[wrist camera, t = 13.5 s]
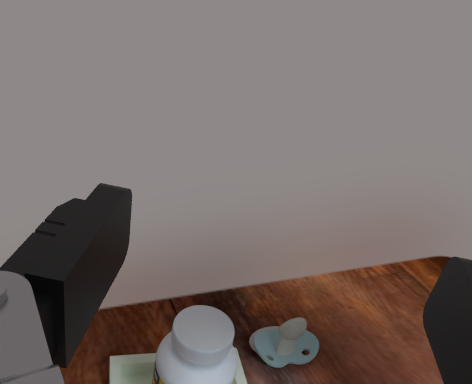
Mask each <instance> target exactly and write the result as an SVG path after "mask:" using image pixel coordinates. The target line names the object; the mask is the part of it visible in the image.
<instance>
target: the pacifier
mask: <svg viewBox="0 0 472 384" xmlns="http://www.w3.org/2000/svg"><path fill="white" fill-rule="evenodd" d="M306 328H307V322H306V320H305V319H304V318H301V317H298V318H293V319H290V320H288V321H286V322H285V323H283V324H282V325H281V326H280V327H279V326H271V327H265V328H262V329H259V330H257V331H256V332H254V333H253V334H252V335H251V337H250V339H249V344H250V347H251V348H252V349H253V350H254V351H255V352H256V353H258V355H259V356H260V357H261V358H262V359H263V361H265V362H266V363H267V364H268V365H270V366H272V367H275V368H281V367H284V366H285V365H286V364H289V363H291V364H297V365H300V364H306V363H308V362H310V361H311V360H313V359H314V358H315V356H316V355H317V353H318V350H319V341H318V339H317V338H316V336H315V335H314V334H312V333H311V332H309V331H307V330H306ZM305 350H306V351H309V353H310V354H308V355H303V354H302V351H305Z"/></svg>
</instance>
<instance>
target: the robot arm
mask: <svg viewBox="0 0 472 384" xmlns="http://www.w3.org/2000/svg"><path fill="white" fill-rule="evenodd" d="M131 202H132V192H131V190H130V189H127V188H122V187H117V186H113V185H108V184H103V183H100V184H99V185H98V186H97V187H96V188H95V189H94V190H93V192H92V193H91V194H90V195H89V196H88V198H87V199H86V200H82V199H76V198H74V199H72V200H70V201H68V202H66V203H64V204H62V205H60V206H58V207H56V208H55V209H54V211H52V213H51V214H50V215H49V216H48V217H47V218H46V219H45V222H42V223H41V224H40V225H39V227H38V228H37V229H36V230H35V233H32V234H31V235H30V236H29V237H28V238H27V240H26V241H25V242H24V243H23V244H22V245H21V246H20V247H19V248H18V249H17V250H16V251H15V252H14V254H13V255H12V256H11V257H10V258H9V259H8V260H7V261H6V262H5V263H4V264H3V265H2V266H1V268H0V384H64V380H63V377H62V374H61V371H60V368H59V367H63V368H67V366H68V364H69V362H70V360H71V358H72V357H73V355H74V353H75V351H76V349H77V347H78V345H79V344H80V342H81V340H82V338H83V336H84V334H85V333H86V331H87V329H88V327H89V325H90V323H91V322H92V320H93V318H94V316H95V314H96V312H97V311H98V309H99V307H100V305H101V303H102V301H103V299H104V298H105V296H106V294H107V292H108V290H109V288H110V286H111V285H112V283H113V281H114V279H115V277H116V276H117V274H118V272H119V270H120V268H121V266H122V264H123V262H124V260H125V257H126V254H127V250H128V245H129V236H130V220H131V205H132V203H131ZM423 324H424V328H425V331H426V334H427V337H428V340H429V343H430V345H431V348H432V351H433V354H434V357H435V359H436V362H437V365H438V368H439V371H440V374H441V376H442V379H443V382H444V384H472V260H469V259H464V258H459V257H452V258H450V259H449V260H448V262H447V263H446V265H445V267H444V269H443V271H442V273H441V274H440V276H439V278H438V280H437V282H436V284H435V286H434V288H433V290H432V292H431V294H430V296H429V298H428V300H427V302H426V304H425V307H424V313H423Z"/></svg>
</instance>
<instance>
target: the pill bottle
mask: <svg viewBox="0 0 472 384" xmlns="http://www.w3.org/2000/svg"><path fill="white" fill-rule="evenodd" d="M233 339H234V326H233V323H232V321H231V320H230V318H229V317H228V316H227V315H226V314H225V313H223V312H222V311H220V310H219V309H216V308H214V307H210V306H205V305H195V306H191V307H188V308H185V309H183V310H182V311H181V312H180V313H178V315H177V316H176V318H175V320H174V322H173V327H172V331H171V332H170V333H168V334H167V335H166V336H165V337H164V339H163V340H162V341H161V343H160V345H159V347H158V350H157V353H156V359H155V366H154V373H153V380H152V384H233V383H234V379H235V376H236V372H237V355H236V352H235V349H234V347H233V345H232V344H233Z"/></svg>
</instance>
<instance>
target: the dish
mask: <svg viewBox="0 0 472 384" xmlns="http://www.w3.org/2000/svg"><path fill="white" fill-rule="evenodd" d="M234 349H235V352H236V355H237V372H236V376H235V379H234V383H233V384H247V381H246V378H245V374H244V371H243V368H242V364H241V361H240V358H239V355H238V351H237V348H234ZM155 359H156V353H149V354H134V355H119V356H110V362H109V384H152V380H153V373H154V366H155Z"/></svg>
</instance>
